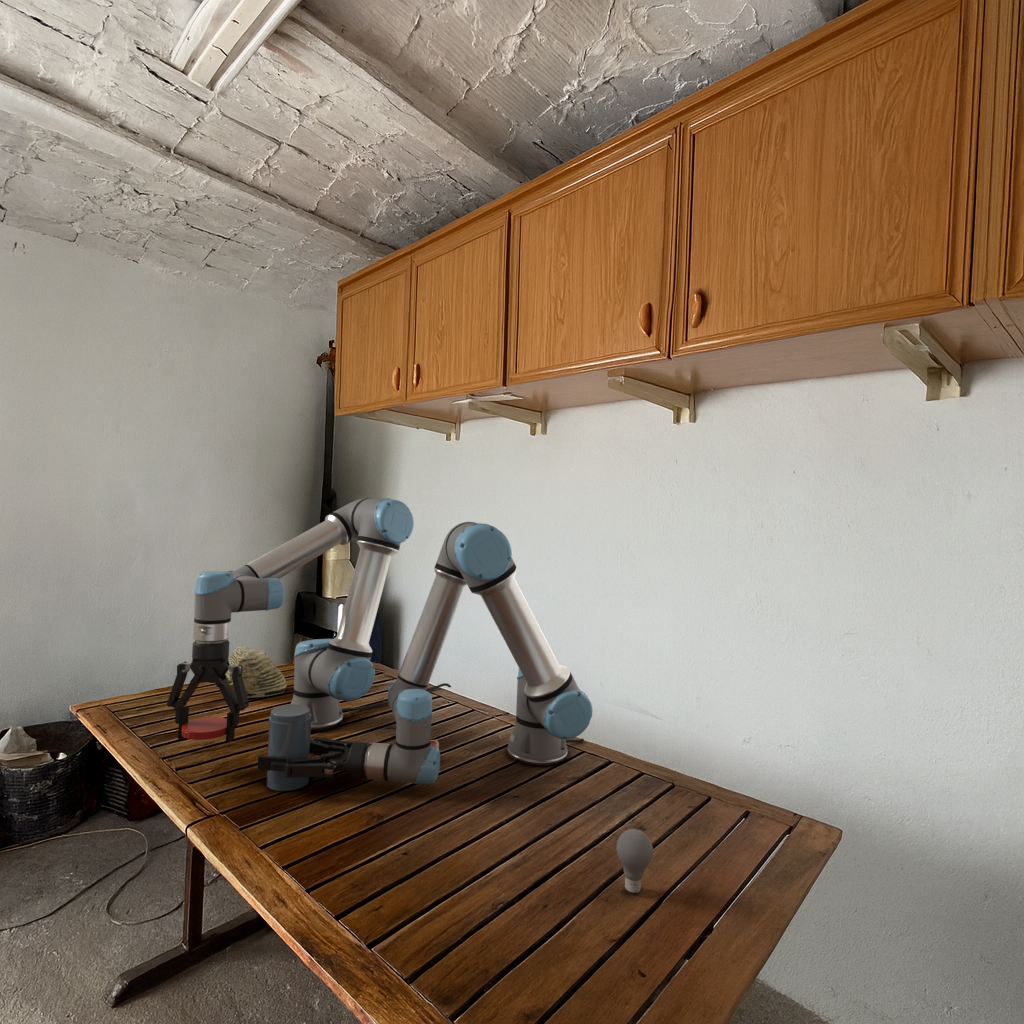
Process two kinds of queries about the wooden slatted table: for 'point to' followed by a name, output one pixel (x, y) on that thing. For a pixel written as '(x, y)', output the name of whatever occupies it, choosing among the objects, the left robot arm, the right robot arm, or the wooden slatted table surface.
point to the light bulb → (634, 857)
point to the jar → (288, 743)
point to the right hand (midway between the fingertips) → (268, 753)
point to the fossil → (257, 673)
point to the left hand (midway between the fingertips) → (206, 739)
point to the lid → (204, 728)
